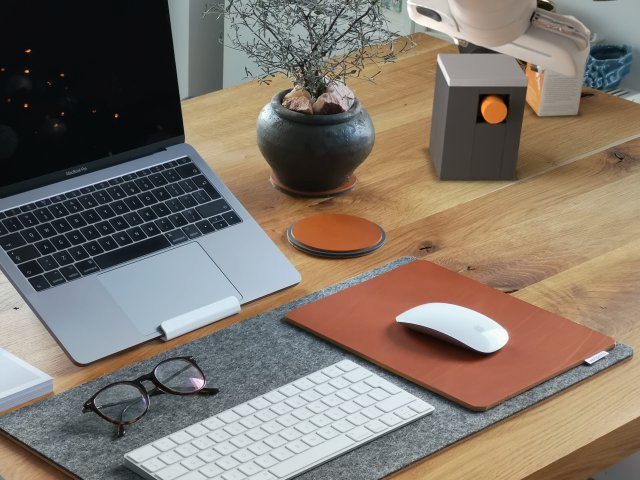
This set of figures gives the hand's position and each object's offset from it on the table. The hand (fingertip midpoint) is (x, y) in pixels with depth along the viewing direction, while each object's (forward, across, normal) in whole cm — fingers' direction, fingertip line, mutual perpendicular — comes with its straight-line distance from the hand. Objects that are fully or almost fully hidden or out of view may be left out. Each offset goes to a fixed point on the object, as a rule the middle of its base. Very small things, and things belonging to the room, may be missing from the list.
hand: (501, 53), depth 129 cm
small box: (+44, 0, -10) cm, 45 cm away
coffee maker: (+24, +3, +8) cm, 25 cm away
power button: (+15, +1, +3) cm, 15 cm away
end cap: (+52, +14, -13) cm, 55 cm away
